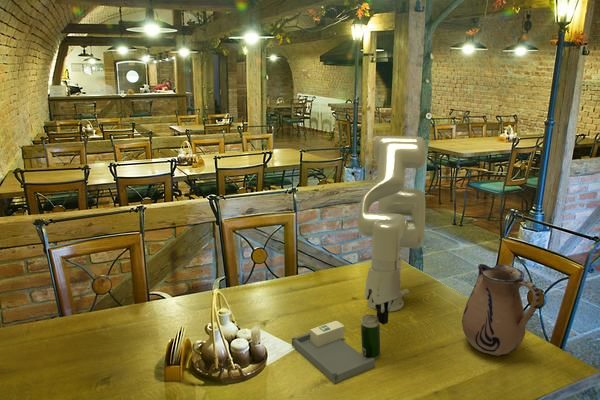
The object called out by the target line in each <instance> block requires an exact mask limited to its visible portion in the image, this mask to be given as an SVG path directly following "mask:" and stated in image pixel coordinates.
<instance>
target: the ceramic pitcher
mask: <svg viewBox="0 0 600 400" xmlns="http://www.w3.org/2000/svg"><path fill="white" fill-rule="evenodd" d="M477 267H478V275H477V279H476V281H475V284H474V287H473V288H472V291H471V294H470V295H469V297H468V300H467V302H466V304H465V307H464V310H463V314H462V319H461V325H462V330H463V333H464V336H465V338H466V339H467V341H468V342H469V343H470V345H471V346H472V347H474V349H476V350H477V351H479V352H482V353H485V354H489V355H493V356H497V357H499V356H504V355H507V354H509V353H512V352H514V351H515V350H516V349H518V348H519V346H520V345H521V344H522V343H523V340H524V338H525V335H526V328H527V327H526V325H527V324H528V322H529V321H530V320H531V318H532V317H533V316H534V314H535V312H536V311H537V310H538V307H539V304H540V298H541V295H540V290H539V289H538V287H537V286H536V285H535V284H534V283H533V282H531V281H528V280H525V273H524V272H523V270H520V269H519V268H517V267H515V266H511V265H508V264H496V265H494V266H493V267H491V266H488V265H487V264H483V263H479V264H478V265H477ZM521 287H526V288H527V289H528V290H530V292H531V296H532V299H531V303H530V306H529V308H528V310H527V311H526V313H525V311H524V306H523V302H522V301H523V300H522V296H521V293H520V288H521Z"/></svg>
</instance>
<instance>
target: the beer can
mask: <svg viewBox="0 0 600 400" xmlns="http://www.w3.org/2000/svg"><path fill="white" fill-rule="evenodd" d="M380 327H381V323H380V322H379V318H378V317H377V315H375V314H365V315H363V316H362V317H361V319H360V336H361V338H360V339H361V355H363V356H364V357H366V358H367V359H371V358H374V359H375V360H376V359H378V358H379V357H380V356H381V328H380Z"/></svg>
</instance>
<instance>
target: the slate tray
mask: <svg viewBox="0 0 600 400" xmlns="http://www.w3.org/2000/svg"><path fill="white" fill-rule="evenodd" d="M291 346H292V347H293V348H294V349H295V350H296V351H297V352H299V353H300V354H301V355H302V356H303V357H304V358H305V359H307V361H309V362H310V363H311V364H312V365H313V366H314V367H315V368H317V370H319V371H320V372H321V373H322V374H323V375H324V376H326V378H328V379H329V380H330V381H331V382H332V383H333V384H337V383H340V382H342V381H344V380H345V381H346V380H348V379H349V378H352V377H353V376H356V375H359V374H361V373H363V372H365V371H368V370H371V369H372V368H375V366H376V359H374V358H371V359H367V358H366V357H364V356H363V354H362V353H360V352H359V351H358V350H356V349H355V348H354V347H352V346H351V345H349V343H347V342H345V341H344V340H343V339H342V338H341V339H339V340H336V341H333V342H330V343H328V344H325V345H322V346H319V347H317V346H315V345H314V344H313V343H312V342H311V341H310V332H306V333H305V334H301V335H300V336H296V337H293V338H291Z"/></svg>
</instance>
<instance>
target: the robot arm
mask: <svg viewBox="0 0 600 400" xmlns="http://www.w3.org/2000/svg"><path fill="white" fill-rule="evenodd" d="M372 149H373V150H372V151H373V157H374V160H375V164H376V166H377V172H376V173H377V174H376V183H374V184H373V185H371V187H370V188H369V189H368V190H366V192H365V194H363V197H362V198H361V200H360V203H359V209H358V210H359V211H358V219H357V230H358V233H359V234H360V235H361V236H362V237H364V238H372V242H371V243H372V244H371V265H370V268H368V270H367V275H366V281H365V288H364V298H365V300H366V301H367V307H368V308H369V309H375V310H376V316H377V317H378V318H379V322H380V325H386V324H388V323H389V312H397V311H399V310H401V309H402V308H403V307H404V305H405V304H404V299H402V298H403V296H406V295H409V294H410V291H409V289H408V288H405V289H403V290H402V289H401V285H402V284H401V276H402V275H401V271H402V257H401V254H400V248H403V249H419V248H421V247H422V246H423V245H424V242H425V235H426V233H425V232H426V231H425V230H426V229H425V228H426V227H425V226H426V196H425V193H424V192H423V191H422V190H421V189H417V188H406V187H405V173H406V169H421V168H423V167H424V165H425V162H426V159H427V148H426V141H425V139H424V138H423V137H422V136H412V135H411V136H410V135H409V136H408V135H382V136H378V137H377V138H375V139H374V140H373V144H372ZM377 201H378V202H377ZM376 202H377V203H378V205H377V206H378V210H379V212H377V211H369V210H370V207H371V206H372V205H373V204H374V203H376ZM406 217H409V218H410V219H407V218H406Z"/></svg>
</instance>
